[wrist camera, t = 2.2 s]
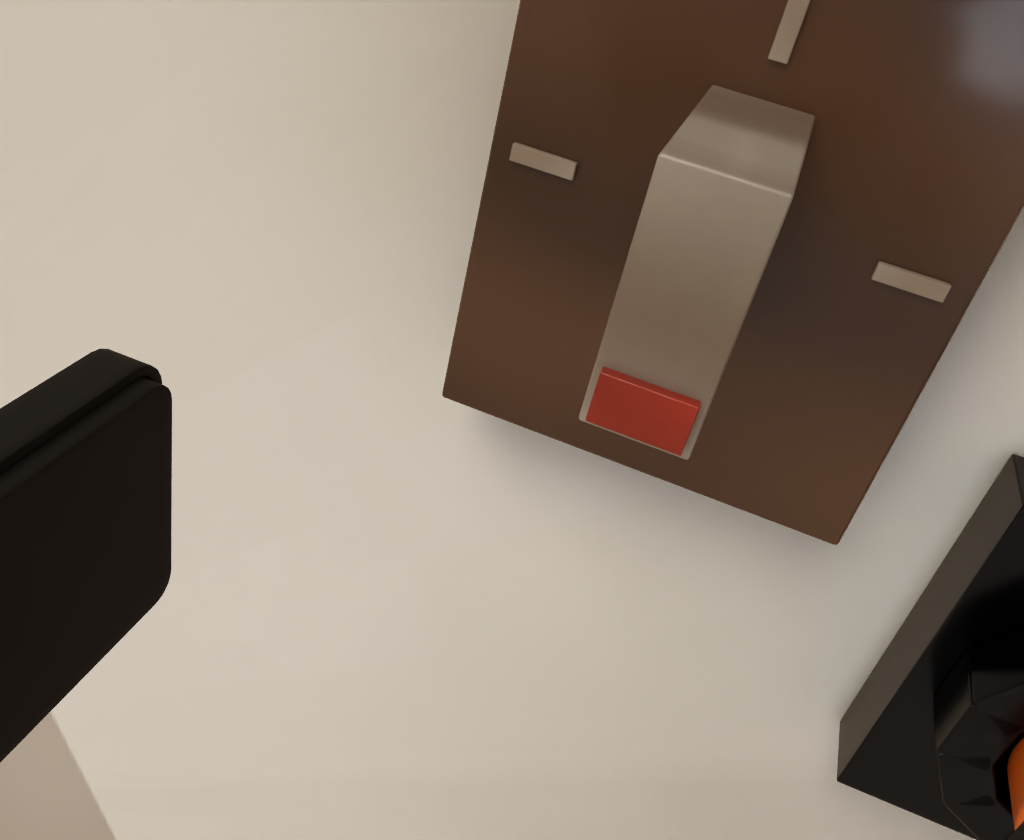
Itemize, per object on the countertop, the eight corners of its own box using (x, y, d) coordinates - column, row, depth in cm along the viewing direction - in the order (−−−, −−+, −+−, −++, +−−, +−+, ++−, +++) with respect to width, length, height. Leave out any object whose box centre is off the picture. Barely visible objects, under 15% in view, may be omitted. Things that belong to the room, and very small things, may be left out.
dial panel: (601, -220, 18) (562, -230, 16) (1142, -82, 16) (1180, -72, 14) (476, 353, 25) (438, 400, 23) (841, 488, 24) (837, 551, 22)
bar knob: (712, 83, 18) (655, 157, 13) (817, 115, 17) (792, 200, 13) (639, 307, 20) (573, 427, 16) (728, 338, 20) (685, 469, 16)
